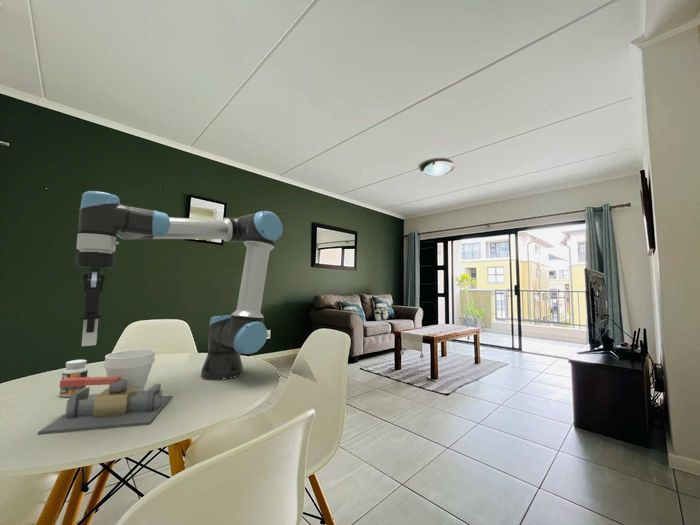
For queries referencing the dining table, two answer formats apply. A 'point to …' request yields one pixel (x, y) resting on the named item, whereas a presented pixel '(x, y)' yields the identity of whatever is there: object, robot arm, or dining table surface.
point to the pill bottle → (73, 375)
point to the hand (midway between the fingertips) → (89, 345)
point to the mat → (104, 420)
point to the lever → (96, 382)
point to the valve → (113, 402)
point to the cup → (130, 366)
